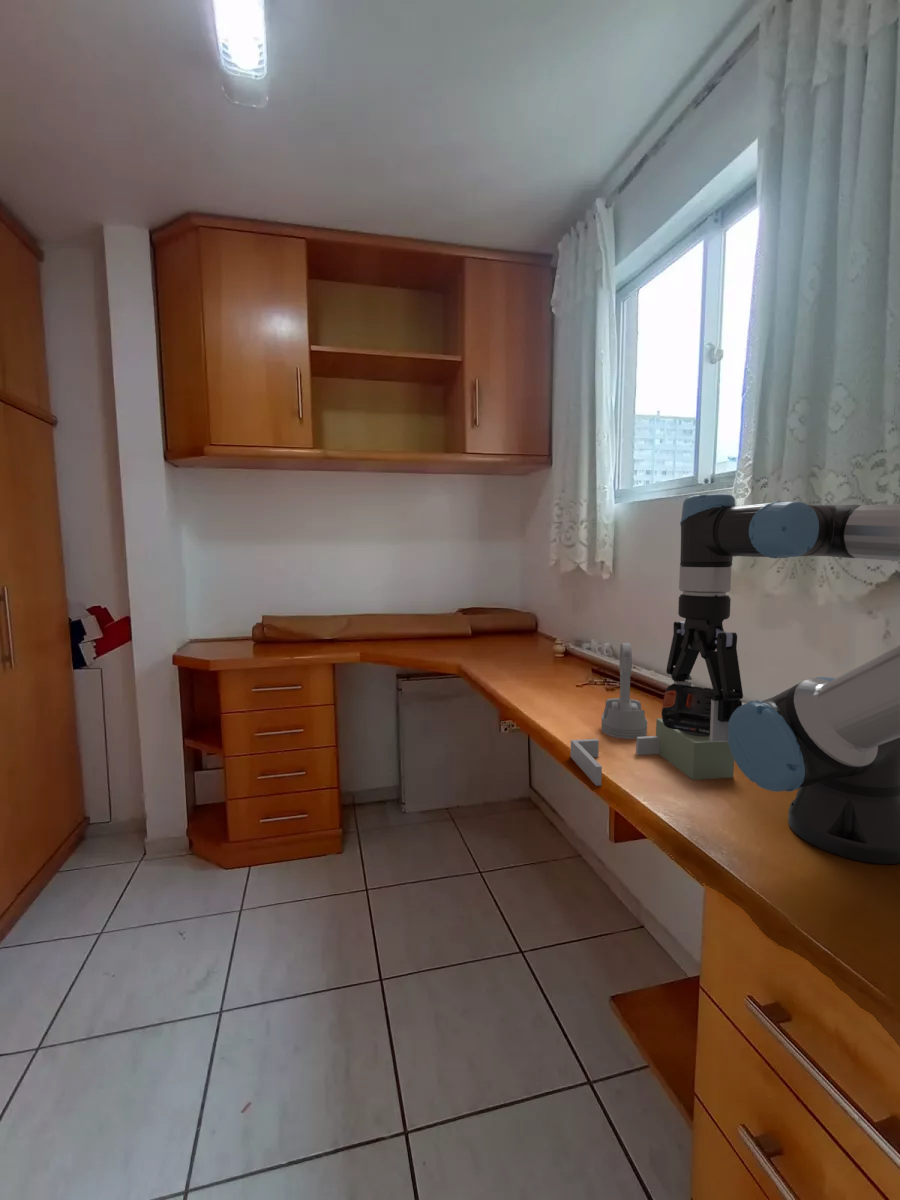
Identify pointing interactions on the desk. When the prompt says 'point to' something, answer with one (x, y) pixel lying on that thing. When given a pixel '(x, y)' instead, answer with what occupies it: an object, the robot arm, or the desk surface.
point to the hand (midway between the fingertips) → (699, 728)
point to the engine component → (624, 705)
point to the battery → (689, 708)
